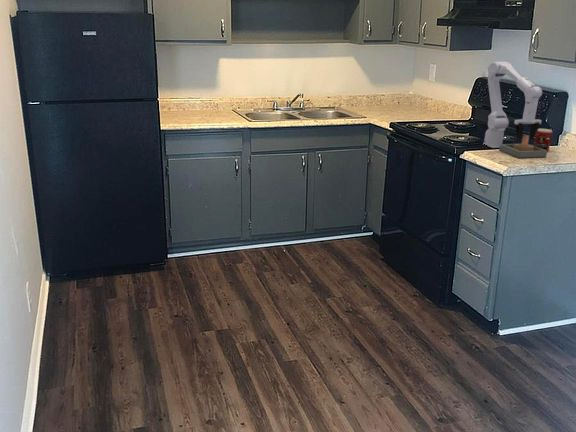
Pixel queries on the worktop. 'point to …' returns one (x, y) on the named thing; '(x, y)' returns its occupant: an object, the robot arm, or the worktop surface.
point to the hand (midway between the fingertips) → (525, 138)
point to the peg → (525, 140)
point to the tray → (523, 151)
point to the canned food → (543, 139)
